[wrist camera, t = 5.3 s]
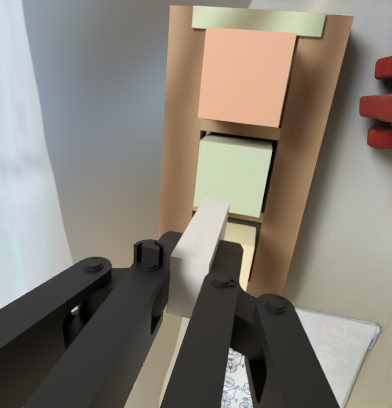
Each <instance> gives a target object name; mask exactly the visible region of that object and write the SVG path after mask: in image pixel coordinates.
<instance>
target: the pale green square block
mask: <svg viewBox="0 0 392 408" xmlns="http://www.w3.org/2000/svg"><path fill="white" fill-rule="evenodd" d="M271 155H272V142H264V141H257V140H249V139H242V138H234V137H227V136H219V135H212V134H208V135H207V136H205V137H204V138H203V139H201V140H200V144H199V154H198V164H197V174H196V184H195V194H194V204H193V206H196V207H199V206H200V204H201V203H202V201H203V199H204V198H209V199H215V200H221V201H227V202H230V206H229V212H230V213H236V214H241V215H247V216H253V217H258V218H259V216H260V211H261V206H262V201H263V196H264V190H265V185H266V180H267V175H268V170H269V165H270V160H271Z"/></svg>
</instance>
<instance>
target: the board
mask: <svg viewBox="0 0 392 408" xmlns="http://www.w3.org/2000/svg"><path fill="white" fill-rule="evenodd" d="M353 18H354V16H342V15H326V14H325V13H308V12H291V11H274V10H257V9H240V8H223V7H205V6H193V7H191V6H174V5H173V6H172V5H170V20H169V21H170V22H169V38H168V57H167V75H166V94H165V113H164V131H163V150H162V169H161V170H162V171H161V188H160V207H159V227H158V241H159V239H160V237H161V236H162V235H163V234H164V233H166V232H168V231H175V232H180V233H184V232H185V230H186V228H187V227H188V225H189V223H190V221H191V220H192V218H193V216H194V215H195V213H196V211H197V209H198V208H199V207H196V206H193V204H194V194H195V184H196V174H197V164H198V154H199V144H200V140H201V139H203V138H204V137H205V136H206V131H210V132H218V133H226V134H233V135H241V136H249V137H256V138H264V139H272V140H277V141H276V146H275V151H274V156H273V161H272V166H271V171H270V176H269V181H268V186H267V191H266V196H265V201H264V203H263V202H262V206H261V211H260V216H259V218H258V217H253V216H247V215H241V214H236V213H230V212H228V217H232V218H238V219H243V220H249V221H255V222H260V227H259V232H258V237H257V242H256V247H255V252H254V257H253V262H252V267H251V268H250V273H249V278H248V283H247V288H246V293H249V294H254V295H258V296H260V295H262V294H268V293H272V294H277V295H280V296H282V294H283V291H284V287H285V283H286V279H287V275H288V271H289V267H290V263H291V259H292V256H293V252H294V248H295V244H296V240H297V236H298V232H299V228H300V224H301V220H302V217H303V213H304V209H305V205H306V201H307V197H308V193H309V189H310V185H311V182H312V178H313V174H314V170H315V166H316V162H317V158H318V154H319V150H320V146H321V143H322V139H323V135H324V131H325V127H326V123H327V119H328V115H329V111H330V108H331V104H332V100H333V96H334V92H335V88H336V84H337V80H338V76H339V72H340V69H341V65H342V61H343V57H344V53H345V49H346V45H347V41H348V37H349V34H350V30H351V26H352V22H353ZM206 27H215V28H229V29H244V30H258V31H272V32H286V33H297V35H296V40H295V42H296V45H295V50H294V55H293V60H292V65H291V70H290V75H289V81H288V86H287V91H286V96H285V101H284V106H283V111H282V116H281V121H280V125H279V126H278V128H277V127H269V126H260V125H252V124H244V123H236V122H228V121H220V120H212V119H204V118H198V109H199V98H200V87H201V77H202V66H203V56H204V45H205V35H206Z"/></svg>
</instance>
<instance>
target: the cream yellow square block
mask: <svg viewBox="0 0 392 408" xmlns="http://www.w3.org/2000/svg"><path fill="white" fill-rule="evenodd" d="M255 235H256V227H251V226H246V225H240V224H235V223H229V222H227V226H226V232H225V239H224V240H225V241H230V242H236V243H240V244H241V246H242V247H243V249H244V252H243V259H242V265H241V272H240V279H239V283H240V286H241V288H242V289H243V290H244V291H245V292H246V288H247V283H248V278H249V273H250V268H251V263H252V258H253V253H254V248H255Z"/></svg>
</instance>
